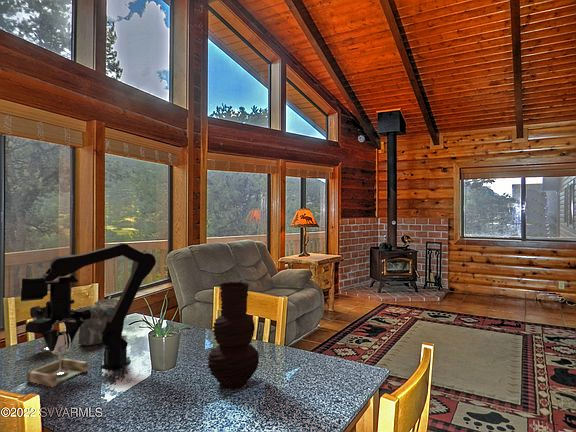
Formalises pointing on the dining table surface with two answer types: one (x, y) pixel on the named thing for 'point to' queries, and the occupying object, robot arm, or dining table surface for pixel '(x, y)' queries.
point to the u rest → (45, 372)
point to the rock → (95, 321)
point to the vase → (233, 339)
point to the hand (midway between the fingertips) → (60, 347)
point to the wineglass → (61, 349)
